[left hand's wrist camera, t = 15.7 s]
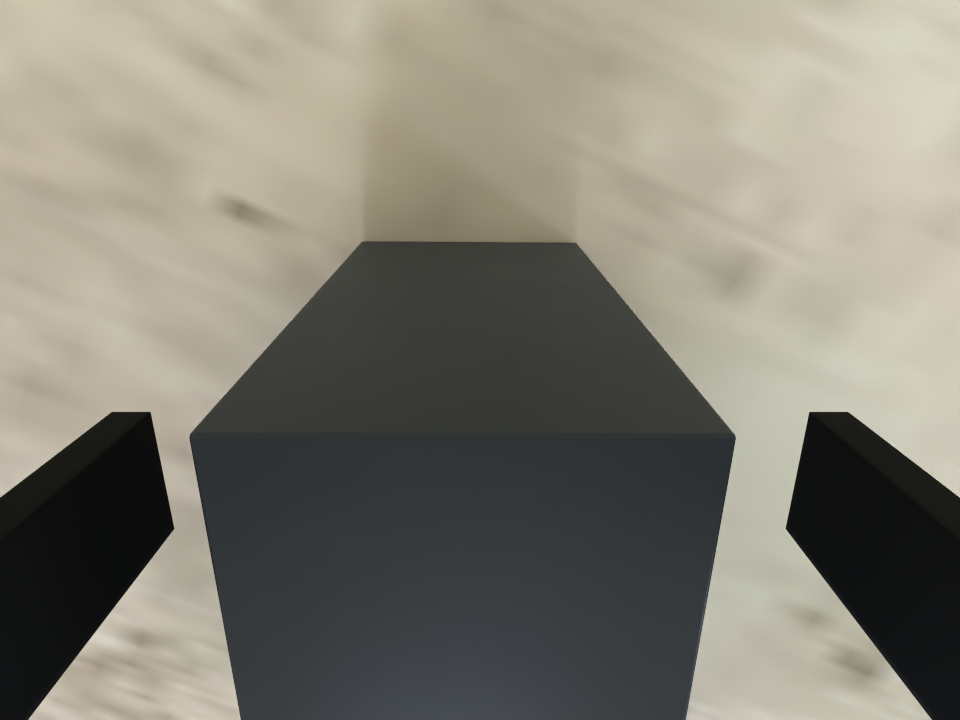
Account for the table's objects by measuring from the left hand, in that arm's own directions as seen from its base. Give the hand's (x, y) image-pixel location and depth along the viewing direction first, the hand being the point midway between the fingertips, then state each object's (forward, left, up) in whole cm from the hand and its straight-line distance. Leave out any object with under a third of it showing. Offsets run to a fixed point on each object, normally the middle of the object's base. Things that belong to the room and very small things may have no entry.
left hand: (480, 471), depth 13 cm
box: (+5, +4, -7) cm, 10 cm away
